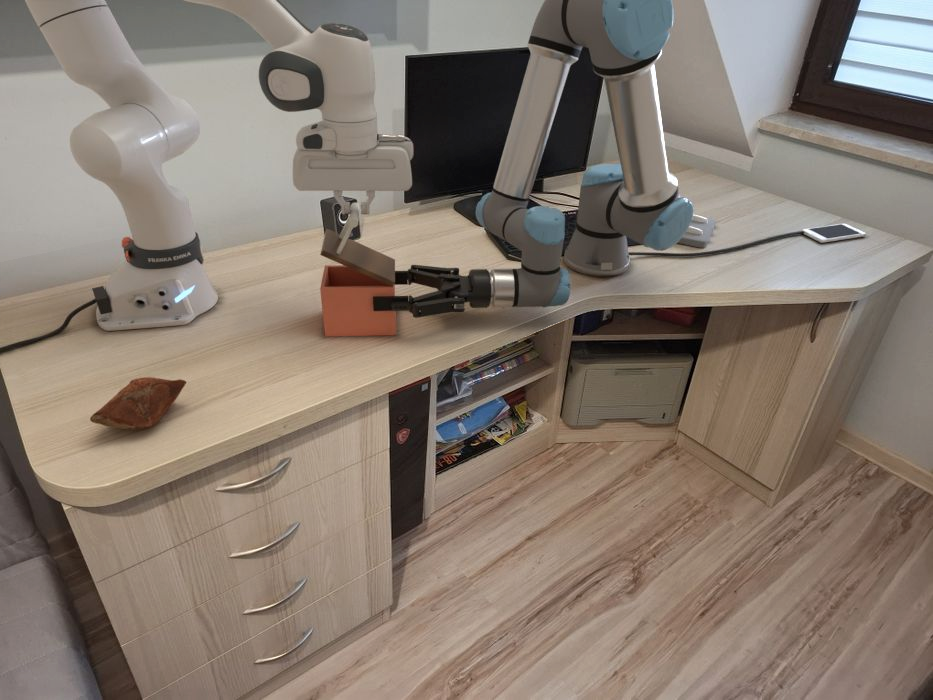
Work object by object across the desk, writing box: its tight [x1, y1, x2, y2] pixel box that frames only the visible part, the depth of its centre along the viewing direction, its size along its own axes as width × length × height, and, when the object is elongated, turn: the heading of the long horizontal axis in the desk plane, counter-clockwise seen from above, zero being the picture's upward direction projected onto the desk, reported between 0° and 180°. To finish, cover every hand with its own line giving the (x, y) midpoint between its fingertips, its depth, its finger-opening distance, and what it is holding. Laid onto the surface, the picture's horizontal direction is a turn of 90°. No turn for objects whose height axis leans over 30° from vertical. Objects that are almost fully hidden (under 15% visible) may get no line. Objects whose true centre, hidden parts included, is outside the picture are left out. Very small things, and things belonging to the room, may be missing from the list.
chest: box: [319, 264, 397, 338], centre depth 123 cm, size 13×10×10 cm
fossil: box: [89, 376, 188, 431], centre depth 97 cm, size 13×8×10 cm
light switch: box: [676, 214, 716, 249], centre depth 169 cm, size 18×3×15 cm
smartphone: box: [801, 223, 866, 244], centre depth 171 cm, size 7×16×1 cm, turn 111°
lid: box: [319, 202, 396, 287], centre depth 116 cm, size 14×10×9 cm
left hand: (355, 213), depth 113 cm, fingers closed
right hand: (374, 290), depth 122 cm, fingers closed on chest, 10 cm apart
